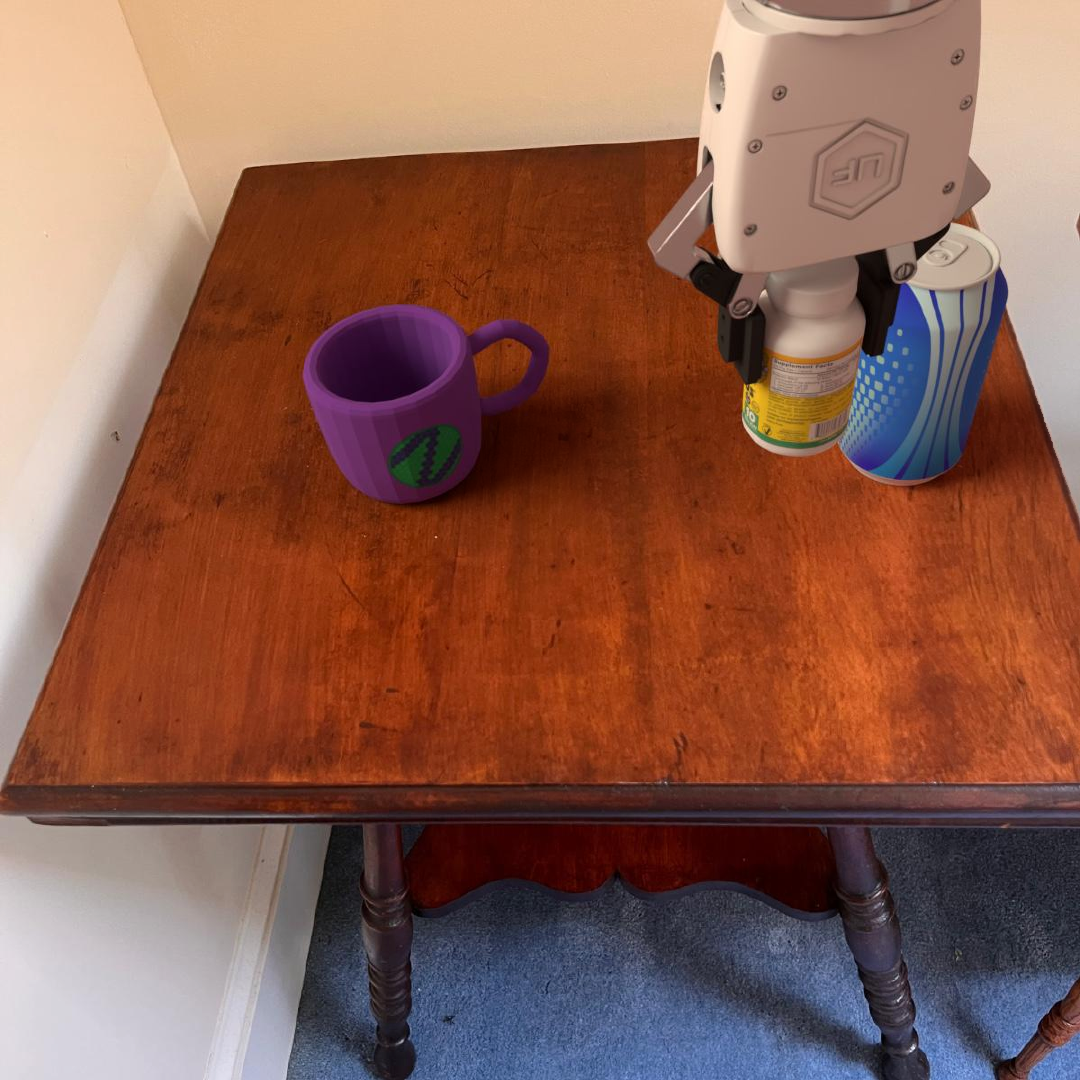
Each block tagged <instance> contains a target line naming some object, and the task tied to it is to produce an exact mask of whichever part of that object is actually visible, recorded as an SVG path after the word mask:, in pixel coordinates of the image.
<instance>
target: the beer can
mask: <svg viewBox="0 0 1080 1080" xmlns="http://www.w3.org/2000/svg"><path fill="white" fill-rule="evenodd" d="M1001 260H1002V256H1001V251H1000V248H999V247H998V245H997V244H996V242H995V241H994V240H993V239H991V237H989V236H988V235H987V234H985V233H984V232H982V231H980V230H978V229H976V228H973V227H971V226H968V225H966V224H965V225H964V224H961V223H960V224H959V223H955V222H951V225H950V229H949V231H948V232H947V233H946V235H945V236H944V237H943V238H941V239H940V240H939V241H938V242H937V243H936V244H935V245H934V246H933V247H932V248H931V249H930V250H929V251H928V252H927V253H925V254H924V255H923V256H922V257H921V258H920V259H919V260H918V261H917V272H916V274H915V275H914V277H913V278H911V279H910V280H909V281H907V282H905V283H902V284H901V288H900V293H899V298H898V303H897V308H896V313H895V318H894V322H893V325H892V326H890V327H889V328H888V333H887V338H886V343H885V348H884V352H883V354H882V355H879V356H874V357H870V356H869V355H865V353H864V352H863V350H862V349H861V352H860V358H859V363H858V369H857V375H856V381H855V387H854V392H853V398H852V404H851V409H850V415H849V421H848V426H847V429H846V432H845V433H844V435H843V437H842V438H841V440H840V441H839V442H837V444H838V446H839V448H840V450H841V452H842V453H843V455H844V456H845V457H846V458H847V460H848V461H849V462H850V464H851V466H853V468H854V469H856V470H857V471H858V472H859V473H860V474H862V476H865V477H866V478H869V479H871V480H872V481H875V482H877V483H879V484H880V483H881V484H884V485H889V486H895V487H911V486H917V485H922V484H924V483H927V482H930V481H932V480H934V479H936V478H937V477H938V476H941V475H942V474H945V473H946V472H948V471H949V470H951V469H952V468H954V467H955V465H956V464H957V463H958V462H959V461H960V460H961V458H962V456H963V454H964V451H965V448H966V445H967V441H968V437H969V434H970V430H971V427H972V423H973V420H974V417H975V413H976V410H977V408H978V407H977V406H978V403H979V399H980V396H981V393H982V389H983V386H984V382H985V379H986V376H987V372H988V370H989V369H988V368H989V365H990V362H991V358H992V356H993V352H994V348H995V345H996V341H997V339H998V334H999V331H1000V327H1001V324H1002V320H1003V317H1004V313H1005V310H1006V307H1007V303H1008V300H1009V299H1008V298H1009V286H1008V281H1007V279H1006V277H1005V274H1004V272H1003V270H1002V268H1001Z"/></svg>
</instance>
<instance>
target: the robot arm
mask: <svg viewBox="0 0 1080 1080" xmlns="http://www.w3.org/2000/svg"><path fill="white" fill-rule="evenodd" d="M981 40H982V0H723V4H722V8H721V12H720V16H719V19H718V23H717V28H716V32H715V36H714V40H713V41H714V42H713V45H712V50H711V55H710V60H709V65H708V70H707V77H706V83H705V89H704V96H703V97H704V98H703V102H702V103H703V104H702V111H701V121H700V130H699V138H698V139H699V140H698V151H697V164H696V177H695V179H693V181H692V183H691V184H690V185H689V186H688V188H686V190H685V191H684V193H683V194H682V196H680V198H679V199H678V200H677V201H676V203H675V204H674V205H673V206H672V208H671V209H670V211H669V212H668V213H667V214H666V215H665V216H664V218H663V219H662V221H661V222H660V223H659V224H658V225H657V227H656V228H655V229H654V230H653V232H652V233H651V234H650V236H649V237H648V239H647V241H646V247H647V250H648V251H649V253H650V255H651V258H652V260H653V261H654V263H655V265H656V266H657V267H658V268H659V269H662V270H664V271H666V272H668V273H670V274H672V275H673V276H675V277H677V278H679V279H681V280H683V281H687V282H688V283H690V284H692V286H693V287H694V288H695V289H696V290H697V291H699V292H700V293H702V294H703V295H704V296H706V297H708V298H709V299H711V300H712V301H714V302H715V303H717V304H718V310H717V311H718V312H717V313H718V314H717V333H716V334H717V335H716V336H717V339H716V340H717V347H718V351H719V354H720V356H721V358H722V360H723V362H724V363H726V364H729V363H733V365H734V367H735V369H736V371H737V373H738V374H739V377H740V379H741V380H742V382H743V385H744V384H745V385H750V384H754V383H757V382H758V380H759V379H761V373H762V361H763V350H764V339H765V327H766V318H765V315H764V313H763V311H762V309H761V308H760V306H759V305H758V303H757V302H758V300H759V298H760V295H761V293H762V292H763V291H764V288H765V284H766V281H767V279H768V277H769V274H770V273H773V272H779V271H784V270H789V269H794V268H798V267H803V266H808V265H812V264H817V263H822V262H827V261H831V260H836V259H840V258H845V257H850V256H853V257H854V258H855V259H856V261H857V263H858V267H859V273H858V281H857V292H856V294H855V296H856V297H857V298H858V299H859V301H860V302H861V304H862V306H863V309H864V312H865V319H866V323H865V330H864V336H863V341H862V346H861V349H862V350H863V352H864V353H865V355H869V356H870V357H874V356H879V355H882V354H883V352H884V348H885V343H886V338H887V333H888V328H889V327H890V326H892V325H893V322H894V318H895V313H896V308H897V303H898V298H899V293H900V288H901V284H902V283H905V282H907V281H909V280H910V279H911V278H913V277H914V275H915V274H916V272H917V261H918V260H919V259H920V258H921V257H922V256H923V255H924V254H925V253H927V252H928V251H929V250H930V249H931V248H932V247H933V246H934V245H935V244H936V243H937V242H938V241H939V240H940V239H941V238H943V237H944V236H945V235H946V233H947V232H948V231H949V229H950V225H951V223H953V222H954V221H955V222H957V221H958V220H959V219H961V218H962V217H963V216H964V215H966V214H967V213H968V212H969V211H970V210H971V209H972V208H974V207H975V206H976V205H977V204H978V203H979V202H980V201H982V200H983V199H984V198H985V197H986V196H987V195H988V194H989V192H990V190H991V188H992V187H991V186H992V185H991V181H990V179H988V178H987V176H986V174H984V172H983V171H982V170H981V169H980V167H978V165H977V163H975V162H974V160H973V159H972V158H971V156H970V149H971V144H972V137H973V129H974V122H975V115H976V109H977V101H978V100H977V99H978V90H979V81H980V69H981V66H980V65H981V47H982V46H981V45H982V44H981V42H982V41H981ZM711 225H712V226H713V227H714V234H715V240H716V245H717V249H718V251H717V254H714V253H712V252H710V251H709V250H708V249H706V248H705V247H703V246H699V245H698V246H697V245H696V244H697V242H698V241H699V240H700V239H701V238H702V236H703V234H704V233H706V231H707V230H708V229H709V228H710V226H711Z"/></svg>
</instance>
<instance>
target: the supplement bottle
mask: <svg viewBox="0 0 1080 1080" xmlns="http://www.w3.org/2000/svg"><path fill="white" fill-rule="evenodd" d="M858 273H859V267H858V263H857V261H856V259H855V256H850V257H845V258H840V259H836V260H831V261H827V262H822V263H817V264H812V265H808V266H803V267H798V268H794V269H789V270H784V271H779V272H773V273H770V274H769V277H768V279H767V281H766V284H765V286H764V288H765V289H763V291H762V293H761V295H760V298H759V300H758V302H757V303H758V305H759V306H760V308H761V309H762V311H763V313H764V315H765V318H766V327H765V339H764V350H763V361H762V373H761V379H759V380H758V382H757V383H754V384H750V385H745V384H744V383H743V395H742V408H741V410H742V411H741V418H742V424H743V427H744V429H745V431H746V432H747V434H748V435H749V437H750V438H751V439H752V440H753V441H754V443H755V444H757V445H758V446H759V447H761V448H763V450H764V449H765V450H767V452H770V453H772V454H776V455H780V456H783V457H793V458H794V457H795V458H796V457H797V458H802V457H810V456H816V455H818V454H822V453H823V452H827V451H828V450H830V449H832V448H833V447H835V445H837V444H838V442H839V441H840V440H841V438H842V437H843V435H844V433H845V432H846V429H847V426H848V421H849V415H850V409H851V404H852V398H853V392H854V387H855V381H856V375H857V369H858V363H859V358H860V352H861V346H862V341H863V336H864V330H865V323H866V319H865V312H864V309H863V306H862V304H861V302H860V301H859V299H858V298H857V297H856V296H855V294H856V292H857V281H858Z"/></svg>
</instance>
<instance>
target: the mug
mask: <svg viewBox="0 0 1080 1080" xmlns="http://www.w3.org/2000/svg"><path fill="white" fill-rule="evenodd" d="M504 339H508V340H514V341H516V342H518V343H520V344H522V345H523V346H525V347H526V348H527V349H528V350H529V351H530V359H529V362H528V366H527V370H526V372H525V374H524V375H523V377H522V379H521V381H520V382H519V383H517V384H516V385H514V386H513V387H511V388H509V389H507V390H504V391H503V392H501V393H498V394H495V395H490V396H487V397H486V396H480V392H479V384H478V378H477V371H476V366H475V360H474V356H476V355H477V354H479V353H481V352H483V351H484V350H486V349H487V348H489V347H490V346H492V345H493V344H495V343H497V342H499V341H502V340H504ZM549 363H550V345H549V343H548V341H547V340H546V338H545V336H544V335H543V334H541V332H540V331H538V330H536V328H534V327H533V326H531V325H529V324H527V323H525V322H522V321H521V320H520V321H519V320H517V319H515V318H513V319H508V318H507V319H506V318H505V319H496V320H494V321H491V322H489V323H487V324H485V325H482V326H481V327H479V328H478V329H476V330H475V331H473V332H472V333H471V334H469V335H468V334H467V333H466V331H465V329H464V328H463V326H461V325H460V324H459V322H457V321H456V320H455V319H454V318H453V317H452V316H450V315H448V314H447V313H444V312H442V311H440V310H438V309H436V308H432V307H427V306H424V305H419V304H404V303H403V304H401V303H397V304H390V305H381V306H376V307H373V308H369V309H366V310H362V311H358V312H357V313H354V314H352V315H350V316H348V317H345V318H344V319H341V320H340V321H338V322H337V323H335V324H333V325H332V326H331V327H328V329H326V330H325V331H324V332H323V333H322V334H321V335H320V336H319V337H318V338H317V339H316V340H315V341H314V342H313V344H312V345H311V348H310V349H309V351H308V353H307V354H306V357H305V360H304V365H303V372H302V379H303V382H304V386H305V390H306V394H307V397H308V399H309V402H310V405H311V408H312V410H313V413H314V416H315V419H316V421H317V424H318V426H319V428H320V431H321V433H322V435H323V437H324V440H325V442H326V445H327V448H328V450H329V451H330V452H329V453H330V454H331V456H332V458H333V459H334V461H335V463H336V465H337V466H338V468H339V470H340V471H341V473H342V474H343V476H344V477H345V478H346V479H347V481H348V482H349V483H350V484H351V485H352V487H354V488H355V489H356V490H358V491H359V492H361V493H363V494H364V495H366V496H367V497H369V498H370V499H373V500H378V501H379V502H383V503H388V504H389V503H390V504H400V505H403V504H412V503H420V502H424V501H427V500H430V499H434V498H437V497H438V496H440V495H442V494H445V493H447V492H448V491H450V490H452V489H453V488H455V487H456V486H457V485H458V484H460V483H461V482H462V481H464V480H465V479H466V478H467V476H468V475H469V474H470V472H471V471H472V469H473V468H474V467H475V465H476V462H477V460H478V457H479V453H480V451H481V448H482V417H483V416H484V417H485V416H486V417H487V416H488V417H489V416H494V415H499V414H502V413H505V412H508V411H510V410H513V409H515V408H517V407H518V406H520V405H522V404H524V403H525V402H526V401H528V400H529V398H530V399H531V397H532V396H533V395H534V394H536V393H537V391H538V390H539V388H540V387H541V384H542V382H543V381H544V379H545V376H546V374H547V370H548V367H549Z"/></svg>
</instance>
